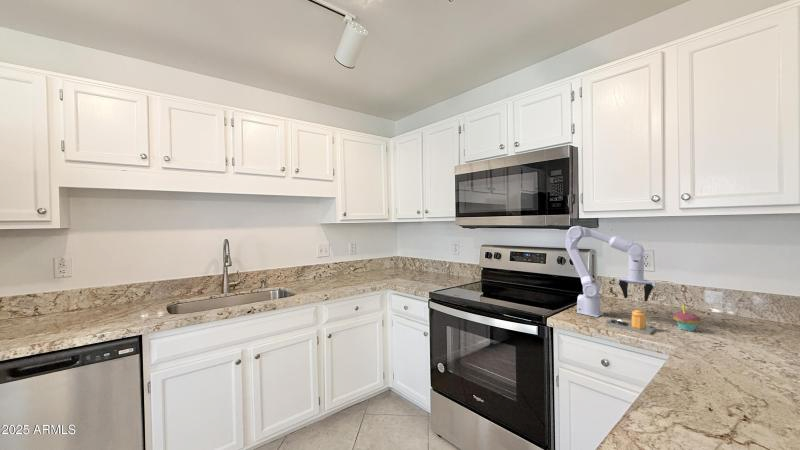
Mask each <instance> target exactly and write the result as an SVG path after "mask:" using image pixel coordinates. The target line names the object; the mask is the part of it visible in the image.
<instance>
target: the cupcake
mask: <svg viewBox="0 0 800 450" xmlns="http://www.w3.org/2000/svg"><path fill="white" fill-rule="evenodd" d="M672 316H673V320H674V321H676V324H677V326H678V329H679V328H680V330H681V329H683V330H682V331H685V330H688V331H687V332H694V331H695V329H696V328H697V326H698V325H699V324H701V318H700V317H699V316H697V314H693V313H692V312H686V306H685V303H684V302H682V311H679V312H676V313H675V314H673V315H672Z"/></svg>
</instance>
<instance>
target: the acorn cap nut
mask: <svg viewBox="0 0 800 450" xmlns="http://www.w3.org/2000/svg"><path fill="white" fill-rule="evenodd" d="M646 314H647V313H646V312H645V311H644V310H640V309H634V310H632V313H631V322H632V326H634V327H637V328H646V325H647V316H646Z"/></svg>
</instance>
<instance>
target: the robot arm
mask: <svg viewBox="0 0 800 450" xmlns="http://www.w3.org/2000/svg"><path fill="white" fill-rule="evenodd" d="M565 234H566V235H565V236H566V237H565V240H564V241H565V243H564V248H565V249H566V251H567V253H568V255H569V258H570V260H571V261H572V263H573V266H574V268H575V270H576V273H577V274H578V276H579V278H580V282H581V285H582V292H583V294H581V293H580V294H578V296H577V301H576V314H580V315H585V316H590V317H595V318H599V317H600V316H602V315H604V312H601V295H600V294H599V292H600V290H601V286H600V284H599V282H598V281H596V280H595V279H594V277H593V276H592V274H591V273H590V271H589V269H588V266H587V265H586V262H585V260H584V258H583V256H582V254H581V252H580V250H579V248H578V244H579V242H580V240H581V239H582V238H593V239H596V240H598V241H601V242H605V243H607V244H608V245H609V247H610V248H613V249H615V250H617V251H620V252H623V253H628V261H627V266H628V267H627V277H624V276H623V277H621V276H618V277H616V282H617V283H618V285H619V287H620V289H621V291H622V293H623V298H624V299H628V287H629V284H636V285H642V286H643V289H644V292H643V293H644V298H643V300H644V302H649V301H648V300H649V296H650V293H652V292H651V291H652V290H653V289H654V287H656V286H657V281H655V280H649V279H645V275H644V273H645V272H644V271H645V269H644V268H645V264H644V263H645V260H644V253H645V248H644V246H643V245H642V244H640V243H639V242H635V241H634V240H628V239H626V238H624V237H623V236H622V235H619V236H618V235H614V236H609V235H608V234H605V233H602V232H600V231H597V230H595V229H592V228H590V227H589V228H588V227H584V226H580V225H576V226H575V225H574V226H573V225H572V226H571V227H569V229H568V230H567V231H566V233H565Z"/></svg>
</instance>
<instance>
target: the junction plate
mask: <svg viewBox="0 0 800 450" xmlns="http://www.w3.org/2000/svg"><path fill="white" fill-rule="evenodd" d="M605 326H609V327H614V328H618V329H623V330H626V331H631V332H636V333H640V334H645V335H652V334H653V333H655V331H656V330H657V327H656V326H653V325H648V324H646V328H637V327H634V326H632V321H628V320H622V319H619V318H614V317H612V318H611V319H609V320H607V321H605Z"/></svg>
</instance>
